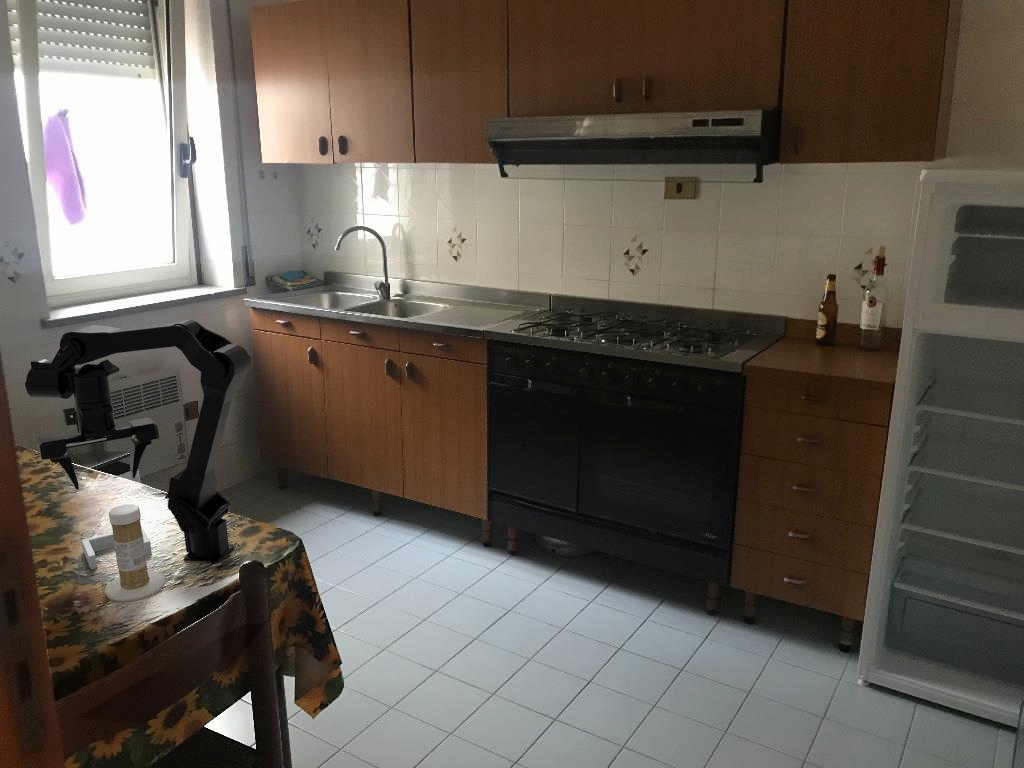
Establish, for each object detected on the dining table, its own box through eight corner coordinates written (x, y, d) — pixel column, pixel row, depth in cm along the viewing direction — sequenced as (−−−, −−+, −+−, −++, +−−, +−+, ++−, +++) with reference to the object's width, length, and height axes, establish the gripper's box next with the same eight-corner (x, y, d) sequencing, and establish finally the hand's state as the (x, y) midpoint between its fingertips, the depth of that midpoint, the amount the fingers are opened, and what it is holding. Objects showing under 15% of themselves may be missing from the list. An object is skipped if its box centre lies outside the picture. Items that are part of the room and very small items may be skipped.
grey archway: (83, 552, 150) (81, 539, 149) (142, 537, 156) (140, 525, 155) (91, 569, 144) (88, 556, 143) (151, 553, 149) (150, 541, 149)
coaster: (175, 576, 141) (175, 572, 141) (144, 604, 132) (143, 599, 132) (127, 572, 142) (127, 568, 142) (93, 599, 134) (92, 595, 134)
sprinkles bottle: (142, 574, 140) (132, 500, 137) (154, 583, 137) (144, 508, 134) (115, 584, 137) (103, 509, 134) (126, 593, 134) (115, 516, 131)
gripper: (140, 381, 155) (151, 459, 159) (26, 397, 145) (41, 481, 149) (154, 394, 146) (164, 476, 150) (34, 413, 136) (49, 501, 140)
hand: (105, 483), depth 148 cm, fingers open, 9 cm apart
